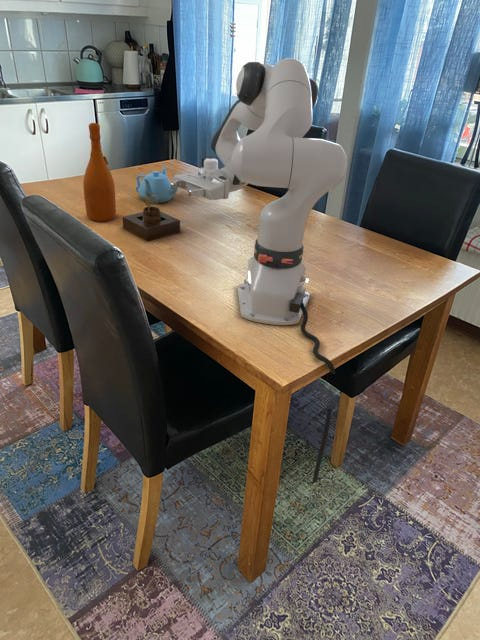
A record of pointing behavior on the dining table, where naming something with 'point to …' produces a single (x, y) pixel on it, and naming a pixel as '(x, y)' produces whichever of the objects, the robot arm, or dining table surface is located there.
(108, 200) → the wine bottle
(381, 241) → the dining table surface
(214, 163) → the container
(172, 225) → the socket block
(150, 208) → the utensil holder
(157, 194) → the teapot
